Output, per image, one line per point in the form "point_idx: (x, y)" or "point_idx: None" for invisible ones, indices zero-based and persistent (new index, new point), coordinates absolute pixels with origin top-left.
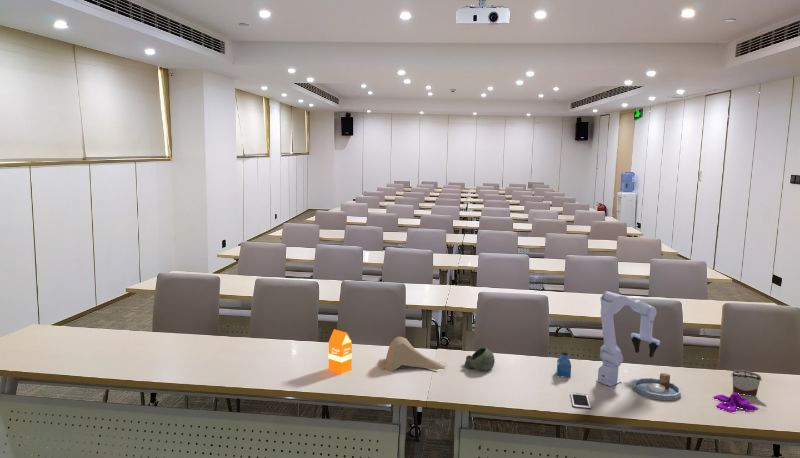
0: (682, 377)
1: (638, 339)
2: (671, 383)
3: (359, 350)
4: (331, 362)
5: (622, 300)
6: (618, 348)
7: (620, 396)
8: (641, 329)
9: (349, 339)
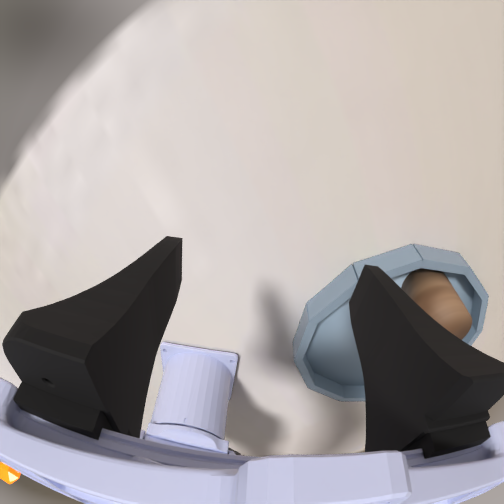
0: (479, 50)
1: (118, 416)
2: (461, 273)
3: None
4: None
5: None
6: None
7: (291, 421)
8: None
9: (7, 473)
